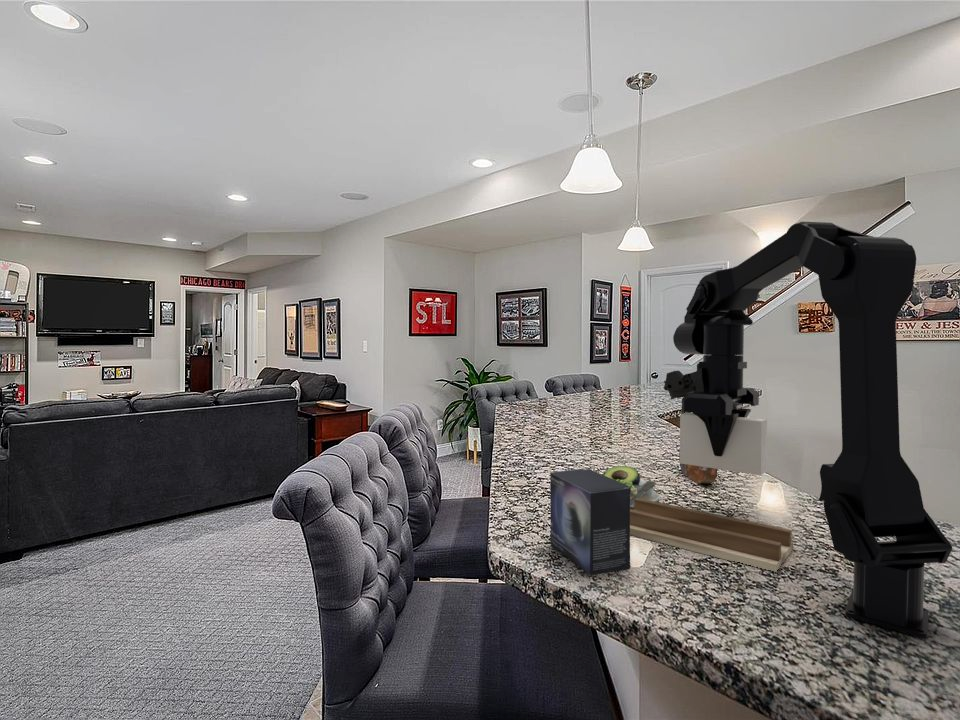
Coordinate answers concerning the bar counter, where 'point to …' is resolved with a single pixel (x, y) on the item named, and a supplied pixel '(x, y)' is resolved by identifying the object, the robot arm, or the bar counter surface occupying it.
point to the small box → (590, 520)
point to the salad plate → (633, 483)
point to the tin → (699, 473)
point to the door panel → (740, 451)
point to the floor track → (711, 534)
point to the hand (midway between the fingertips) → (721, 454)
